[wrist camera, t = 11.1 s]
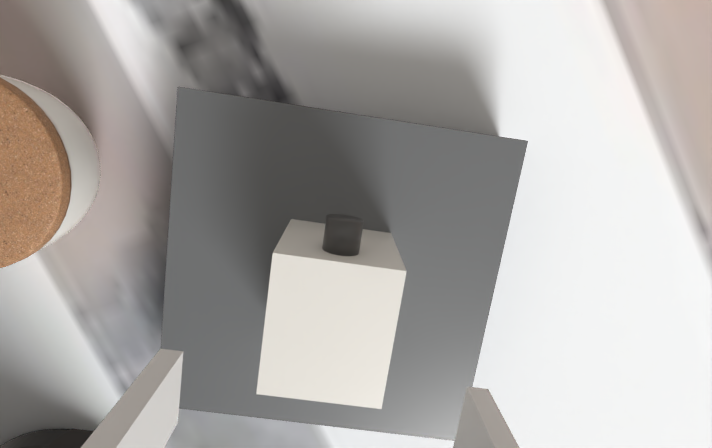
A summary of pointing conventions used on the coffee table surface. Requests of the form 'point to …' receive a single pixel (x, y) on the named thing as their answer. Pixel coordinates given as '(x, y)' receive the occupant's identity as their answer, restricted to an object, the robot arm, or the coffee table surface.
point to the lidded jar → (41, 170)
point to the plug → (331, 313)
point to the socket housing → (313, 203)
